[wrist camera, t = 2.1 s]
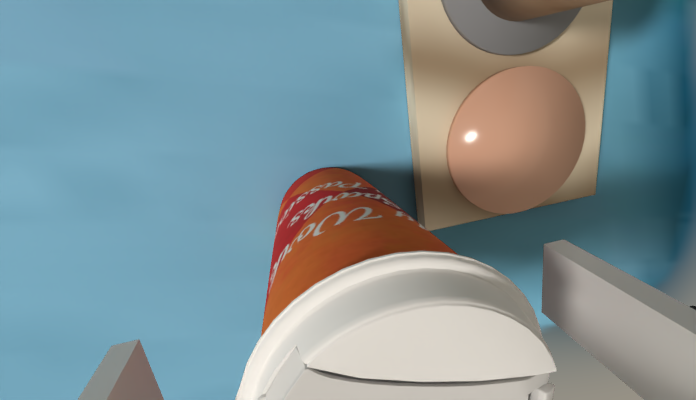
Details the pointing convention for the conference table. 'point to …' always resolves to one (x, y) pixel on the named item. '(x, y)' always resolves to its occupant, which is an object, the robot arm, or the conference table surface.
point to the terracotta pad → (515, 139)
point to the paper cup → (385, 309)
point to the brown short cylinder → (532, 7)
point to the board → (471, 69)
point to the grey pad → (504, 28)
